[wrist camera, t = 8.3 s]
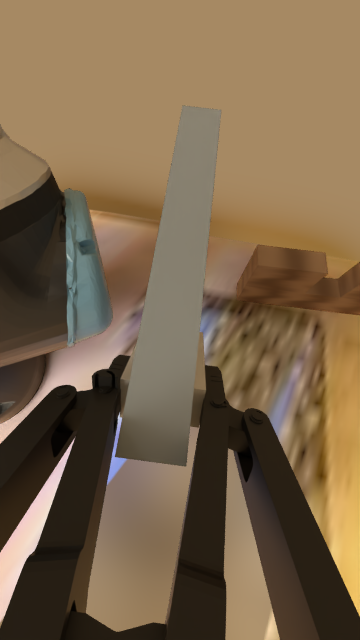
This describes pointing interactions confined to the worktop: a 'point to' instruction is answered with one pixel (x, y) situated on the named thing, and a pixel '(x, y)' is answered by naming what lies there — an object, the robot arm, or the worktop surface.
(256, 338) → the worktop surface
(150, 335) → the grey plain narrow board
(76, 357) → the worktop surface
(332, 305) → the walnut slotted board
